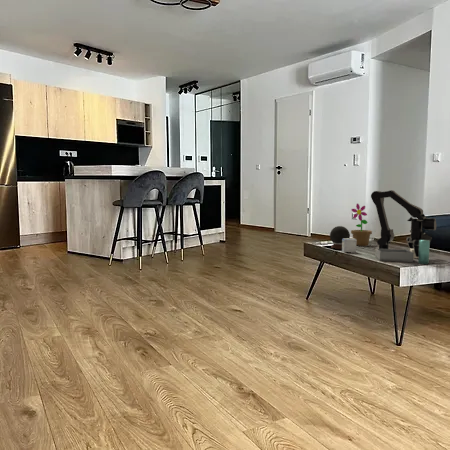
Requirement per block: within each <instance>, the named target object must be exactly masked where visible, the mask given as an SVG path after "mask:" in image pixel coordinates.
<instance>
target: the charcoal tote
mask: <svg viewBox="0 0 450 450" xmlns="http://www.w3.org/2000/svg"><path fill="white" fill-rule="evenodd" d="M374 253H375V255H374V257H375V258H376V259H377V260H378V261H379V262H405V263H408V262H409V263H414V258H413V254H414V253H413V252H411V251H410V249H401V248H397V249H396V248H389V249H379V248H375V252H374Z"/></svg>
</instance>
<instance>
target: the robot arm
mask: <svg viewBox="0 0 450 450" xmlns="http://www.w3.org/2000/svg"><path fill="white" fill-rule="evenodd" d="M370 198H371V200H372V203H373V204H374V206H375V208H376V211H377V212H376V213H377V216H378V220H379V221H378V222H379V224H380V228H381V229H380V238H379V239H377V241H376V243H377V245H378V249H390V246H389V245H390V244H391V242H392V241H393V240H394V239H395V234H394V229H391V228H390V226H389V221H388V218H387V214H386V210H385V205H384V204H385V203H384V202H385V198H391V199H392V200H394V202H396V203H397V204H398V205H400V206H402V208H404V209H405V210H406V212H407V214H409V215H410V217H409V218H408V219H407V220H406V221H407V222H410V230H409V232H410V236H407V237H405V238H406V240H405V241H406V242H407V246H408V248H409V249H410V248H411V249H414V251H415V254H416V257H418V254H419V240H430V242H431V241H432V239H433V237H432V236H430V235H429V234H428V233H426V232H424V231H423V230H422V229H424V230H428V231H436V230H437V219H436V218H434V217H432V218H427V217H426V215H425V213H424V210H423V209H422V208H421V207H420V206H417V205H415V204H412V203H410V202H409V201H408V200H406V198H404V197H402V196H401V195H400V194H399V193H397V192H396V191H395V190H386V191H385V190H384V191H382V190H381V191H380V190H374V191H373V192H372V193H371V194H370Z"/></svg>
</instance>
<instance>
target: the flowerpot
mask: <svg viewBox="0 0 450 450" xmlns="http://www.w3.org/2000/svg"><path fill="white" fill-rule="evenodd" d="M360 206H361V205H360V204H359V203H356V206H355V207H356V208H351V212H352V213H354V214H353V215H352V218H353V219H357V217H358V220H359V221H360V223H358V224H356V225H355V227H357V228H360V229H353V230H350V234H352V238H354V239H356V240H357V241H356V246H357V245H359V246H360V247H363V246H364V247H366V246H367V245H368V246H369V245H370V240H371V239H370V238H371V235H373V231H372V230H368V229H363V225H366V224H368V223H369V222H368V221H367V220H366V219H363V217H362V216H367V215H368V214H367V212H365V211H364V210H365V209H366V205H363V206H361V207H360ZM359 246H358V247H359Z"/></svg>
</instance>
